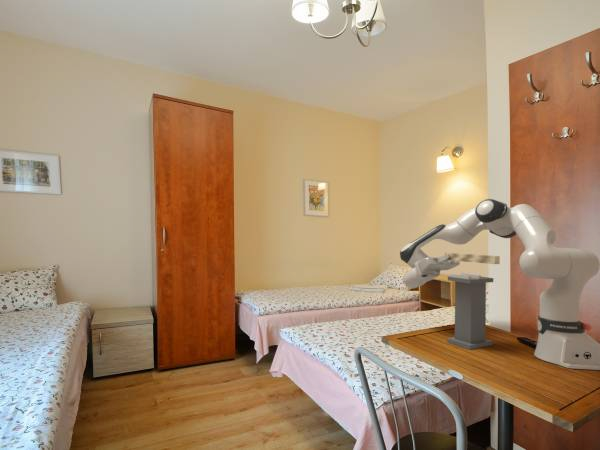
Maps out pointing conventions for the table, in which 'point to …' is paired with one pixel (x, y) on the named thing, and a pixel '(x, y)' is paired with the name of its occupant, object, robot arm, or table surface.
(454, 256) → the lath
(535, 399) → the table surface
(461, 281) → the stand
